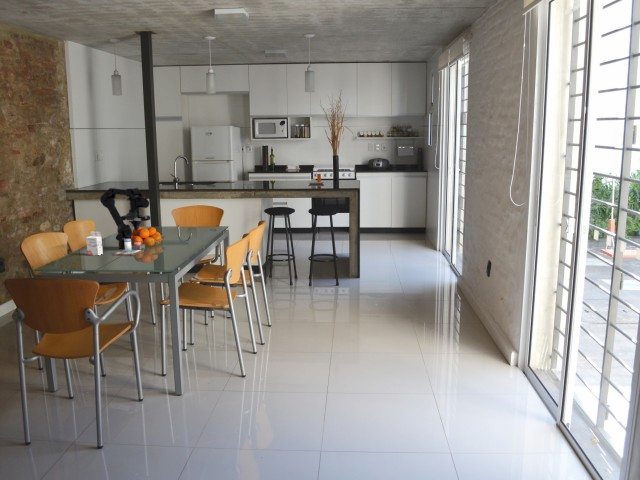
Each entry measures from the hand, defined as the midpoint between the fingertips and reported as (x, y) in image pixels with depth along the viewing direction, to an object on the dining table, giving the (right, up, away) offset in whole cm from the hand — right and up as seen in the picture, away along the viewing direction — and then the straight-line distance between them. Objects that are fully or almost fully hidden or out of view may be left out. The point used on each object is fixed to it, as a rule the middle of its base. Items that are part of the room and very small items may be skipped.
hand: (136, 231), depth 396 cm
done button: (0, -10, +2) cm, 10 cm away
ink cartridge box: (-23, -16, -10) cm, 30 cm away
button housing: (0, -12, +2) cm, 13 cm away
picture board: (-2, -15, -9) cm, 17 cm away
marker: (-2, -13, -9) cm, 16 cm away
